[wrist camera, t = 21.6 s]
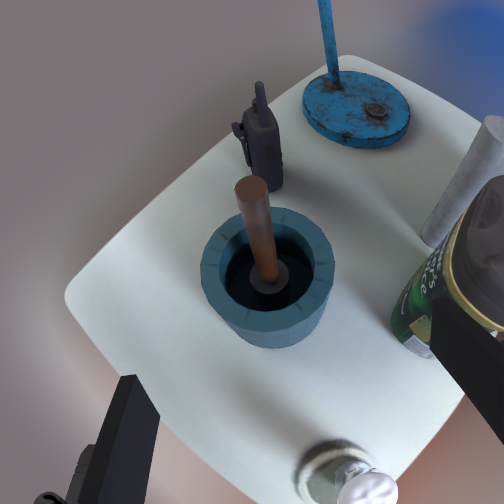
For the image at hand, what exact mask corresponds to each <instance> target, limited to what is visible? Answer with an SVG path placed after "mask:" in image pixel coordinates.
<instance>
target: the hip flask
mask: <svg viewBox="0 0 504 504" xmlns="http://www.w3.org/2000/svg"><path fill="white" fill-rule="evenodd" d="M500 175H504V117H498V116H494V115H488V116H486V117H485V119H484V121H483V123H482V125H481V127H480V129H479V131H478V133H477V135H476V137H475V138H474V140H473V142H472V144H471V146H470V148H469V150H468V152H467V154H466V156H465V157H464V159H463V161H462V163H461V165H460V166H459V168H458V170H457V172H456V173H455V175H454V177H453V179H452V180H451V182H450V184H449V186H448V187H447V189H446V191H445V192H444V194H443V196H442V197H441V199H440V201H439V202H438V204H437V205H436V207H435V209H434V210H433V212H432V213H431V215H430V217H429V218H428V220H427V221H426V223H425V224H424V226H423V228H422V230H421V236H422V239H423V241H424V242H425V243H426V244H427V245H428V246H430V247H433V248H437V246H438V245H439V244H440V242H441V241H442V240H443V239H444V237H445V236H446V235H447V233H448V232H449V231H450V230H451V229H452V227H453V226H454V225H455V223H456V222H457V221H458V219H459V218H460V217H461V215H462V214H463V213H464V211H465V210H466V209H467V207H468V206H469V204H470V203H471V201H472V200H473V199H474V197H475V196H476V195H477V194H478V193H479V191H480V190H481V189H482V188H483V186H484V185H485V184H486V183H487V182H488V181H489V180H490V179H492V178H494V177H496V176H500Z"/></svg>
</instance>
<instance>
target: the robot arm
mask: <svg viewBox="0 0 504 504" xmlns="http://www.w3.org/2000/svg"><path fill="white" fill-rule="evenodd" d="M429 349H430V350H431V352H432V353H433V354H434V355H435V356H436V358H437V359H438V360H439V361H440V362H441V364H442V365H443V366H444V367H445V369H446V370H447V371H448V372H449V374H450V375H451V376H452V377H453V379H454V380H455V381H456V382H457V384H458V385H459V386H460V387H461V389H462V390H463V391H464V393H465V394H466V395H467V396H468V398H469V399H470V400H471V402H472V403H473V404H474V405H475V407H476V408H477V409H478V411H479V412H480V413H481V415H482V416H483V417H484V419H485V420H486V421H487V423H488V424H489V425H490V427H491V428H492V430H493V431H494V432H495V434H496V435H497V436H498V438H499V439H500V441H501V442H502V443H503V445H504V340H503V341H502V342H499V341H498V340H497V339H495V338H494V337H493V336H492V335H491V334H490V333H489V332H488V331H487V330H486V329H484V328H483V327H482V326H481V325H480V324H479V323H478V322H477V321H475V320H474V319H473V318H472V317H471V316H470V315H469V314H468V313H466V312H465V311H464V310H463V309H462V308H461V307H459V306H458V305H457V304H456V303H455V302H454V301H452V300H451V299H450V298H449V297H448V296H446V295H445V296H442V297H440V298H437V299H434V300H432V319H431V334H430V347H429ZM159 420H160V415H159V413H158V411H157V410H156V408H155V407H154V405H153V403H152V402H151V400H150V398H149V397H148V395H147V393H146V391H145V390H144V388H143V386H142V384H141V383H140V381H139V379H138V377H137V375H136V374H134V375H127V376H121V377H120V380H119V382H118V385H117V388H116V390H115V393H114V395H113V398H112V401H111V404H110V406H109V409H108V411H107V414H106V417H105V419H104V422H103V425H102V428H101V430H100V433H99V436H98V439H97V442H96V445H92V444H89V445H88V446H87V447H86V448H85V449H84V451H83V452H82V453H81V455H80V458H79V461H78V463H77V464H78V466H76V469H75V474H74V475H73V478H72V481H71V484H70V487H69V490H68V493H67V496H66V499H65V501H64V500H63V499H62V498H61V497H59V496H58V495H57V494H55V493H53V492H45V493H43V494H41V495H40V496H38V497H37V498H36V500H35V501H34V504H144V502H145V496H146V489H147V484H148V478H149V472H150V467H151V462H152V456H153V451H154V445H155V440H156V435H157V430H158V425H159Z"/></svg>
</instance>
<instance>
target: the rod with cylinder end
mask: <svg viewBox="0 0 504 504" xmlns="http://www.w3.org/2000/svg"><path fill="white" fill-rule="evenodd" d="M235 195H236V198H237V202H238V205H239V208H240V212H241V215H242V219H243V222H244V226H245V229H246V232H247V236H248V239H249V243H250V246H251V250H252V253H253V256H254V260H255V264H254V266H253V267H252V269H251V272H250V281H251V284H252V287H253V289H254V292H255V295H256V297H257V300H258V302H259V305H260V306H261V307H262V308H263V309H264V310H266V311H268V312H269V311H275V310H282V309H284V308H285V307H286V306H287V305H288V303H289V301H290V283H289V271H288V268H287V266H286V265H285V264H284V263H283V262H282V261H281V260H279V259H277V254H276V246H275V239H274V231H273V224H272V217H271V210H270V203H269V196H268V189H267V184H266V182H265V181H264V180H263V179H262V178H260V177H258V176H247V177H244V178H242V179H241V180H239V181H238V183H237V184H236V186H235Z"/></svg>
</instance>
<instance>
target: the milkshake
mask: <svg viewBox="0 0 504 504" xmlns="http://www.w3.org/2000/svg"><path fill="white" fill-rule="evenodd" d="M375 469H376V468H372V467H370V466H368V465H366V464H364V463H363V462H361V461H353V460H349V461H347V462H345V463H343V464H340V466H339V467H338V468H337V470H336V471H335V473H334V477H335V487H336V492H337V504H396V501H397V497H398V487H397V484H396V482H395V481H394V480H393V479H392V478H391V477H390V476H389V475H387V474H385V473H382V472H380V471H377V470H375Z"/></svg>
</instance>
